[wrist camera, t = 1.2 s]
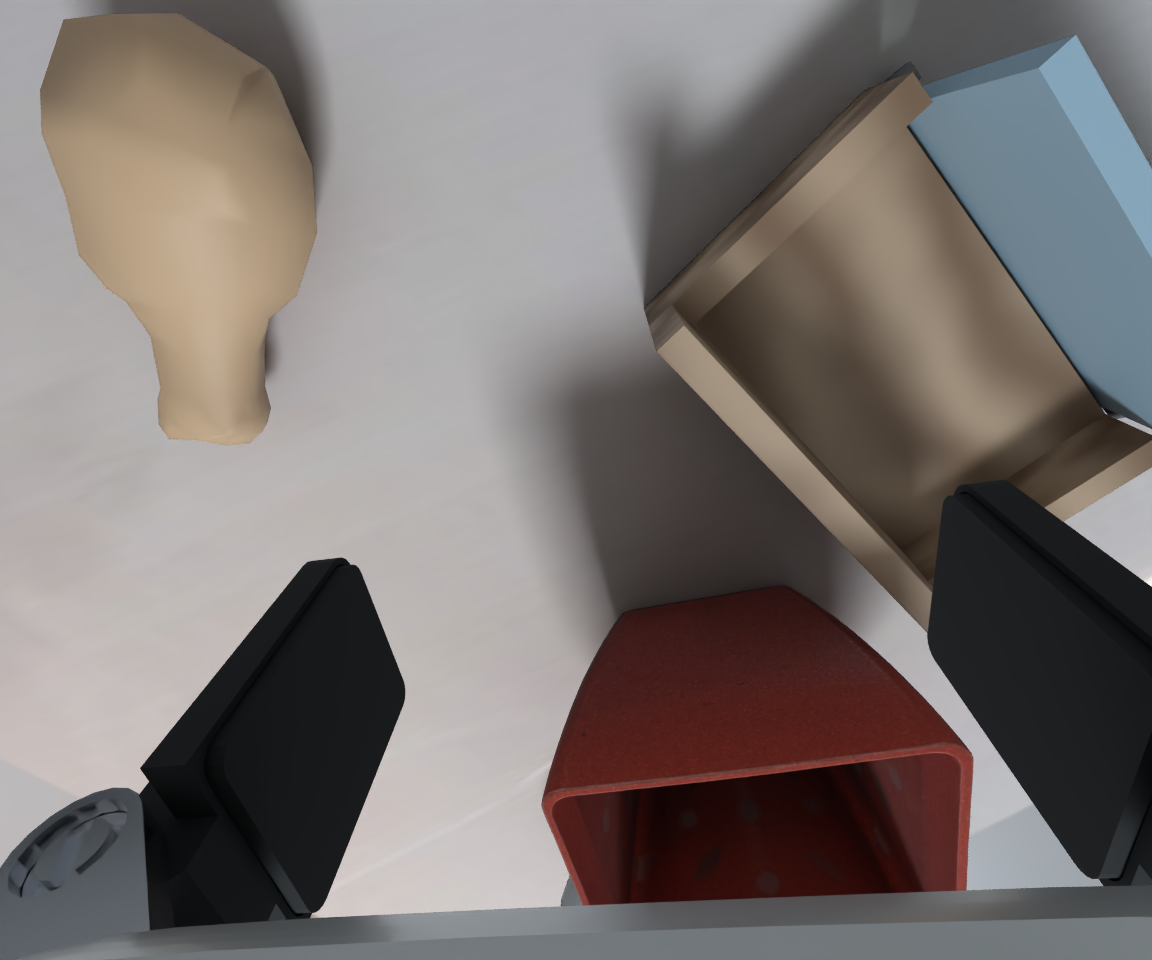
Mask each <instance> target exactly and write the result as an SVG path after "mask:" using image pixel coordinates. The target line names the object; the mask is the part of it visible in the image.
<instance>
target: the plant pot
mask: <svg viewBox="0 0 1152 960" xmlns="http://www.w3.org/2000/svg"><path fill="white" fill-rule="evenodd" d="M972 779H973V756H972V753H971V752H970V751H969V749H968V748H967V747H966V746H965V744H964V743H963V742H962V741H961V739H960V738H959V737H958V736H957V735H956V733H955V732H954V731H953V730H952V729H951V727H950V726H949V725H948V724H947V723H946V722H945V721H944V719H943V718H942V717H941V716H940V715H939V714H938V713H937V712H936V711H935V709H934V708H933V707H932V706H931V705H930V704H929V703H928V702H927V701H926V699H925V698H924V697H923V696H922V695H921V694H920V693H919V692H918V691H917V690H916V689H915V688H914V687H913V686H912V685H911V684H910V683H909V682H908V681H907V680H906V679H905V678H904V677H903V676H902V675H901V674H900V673H899V672H898V671H897V670H896V669H895V668H894V667H893V666H892V665H891V664H889V663H888V662H887V661H886V660H885V659H884V658H883V657H882V656H881V655H880V654H879V653H877V652H876V651H875V650H874V649H873V648H872V647H871V646H870V645H868V644H867V643H866V642H865V641H864V640H863V639H861V638H860V637H859V636H858V635H857V634H856V633H854V632H853V631H852V630H851V629H849V628H848V627H847V626H846V625H844V624H843V623H842V622H841V621H839V620H838V619H837V618H835V617H834V616H832V615H831V614H830V613H828V612H827V611H825V610H824V609H823V608H821V607H820V606H818V605H817V604H816V603H814V602H813V601H811V600H810V599H808V598H807V597H805V596H804V595H802V594H800V593H799V592H797V591H795V590H793V589H791V588H789V587H785V586H779V587H772V588H765V589H759V590H753V591H747V592H741V593H735V594H730V595H723V596H717V597H711V598H705V599H699V600H692V601H686V602H681V603H675V604H668V605H662V606H656V607H650V608H644V609H637V610H631V611H628V612H625V613H624V614H623V615H621V616H620V618H619V619H618V620H617V622H616V623H615V624H614V626H613V627H612V629H611V630H610V632H609V633H608V635H607V637H606V638H605V640H604V641H603V643H602V645H601V647H600V648H599V650H598V652H597V654H596V656H595V657H594V659H593V661H592V663H591V665H590V667H589V669H588V671H587V673H586V675H585V677H584V679H583V681H582V683H581V686H580V688H579V690H578V693H577V695H576V698H575V700H574V703H573V705H572V707H571V710H570V712H569V715H568V718H567V721H566V723H565V726H564V729H563V732H562V734H561V737H560V740H559V743H558V746H557V749H556V753H555V756H554V759H553V762H552V765H551V769H550V772H549V776H548V779H547V783H546V787H545V791H544V794H543V799H542V809H543V812H544V815H545V817H546V819H547V822H548V824H549V827H550V829H551V831H552V833H553V835H554V838H555V840H556V843H557V845H558V848H559V850H560V852H561V855H562V857H563V860H564V862H565V865H566V867H567V870H568V872H569V874H570V876H571V879H572V881H573V884H574V886H575V889H576V891H577V893H578V896H579V898H580V900H581V903H582V905H583V906H586V905H609V904H633V903H656V902H680V901H704V900H729V899H753V898H777V897H802V896H829V895H857V894H884V893H911V892H939V891H966V886H967V864H968V863H967V862H968V841H969V827H970V809H971V794H972Z"/></svg>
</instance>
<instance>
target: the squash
mask: <svg viewBox="0 0 1152 960" xmlns="http://www.w3.org/2000/svg"><path fill="white" fill-rule="evenodd" d="M40 99H41V128H42V136H43V138H44V141H45V144H46V146H47V149H48V151H49V154H50V157H51V159H52V162H53V165H54V167H55V170H56V173H57V175H58V178H59V181H60V183H61V186H62V189H63V191H64V194H65V197H66V201H67V205H68V209H69V214H70V218H71V222H72V227H73V231H74V235H75V240H76V244H77V248H78V253H79V256H80V257H81V258H82V260H83V261H84V262H85V263H86V264H87V266H88V267H89V268H90V269H91V270H92V272H93V273H94V274H95V275H96V276H97V278H98V279H99V280H100V281H101V282H102V284H103V285H104V286H105V287H106V288H107V289H108V290H110V291H111V292H112V293H114V294H115V295H117V296H118V297H120V298H121V299H122V300H124V301H125V302H126V303H127V304H128V305H129V307H130V308H131V310H132V311H133V313H134V314H135V315H136V317H137V318H138V320H139V321H140V322H141V324H142V325H143V327H144V328H145V330H146V331H147V332H148V334H149V335H150V337H151V342H152V347H153V352H154V357H155V362H156V368H157V373H158V378H159V383H160V392H159V396H158V419H159V425H160V427H161V428H162V430H163V431H164V433H165V434H166V435H167V437H168V438H169V439H177V440H196V441H202V442H209V443H215V444H221V445H237V444H248V443H251V442H252V441H253V440H254V439H255V438H256V437H257V436H258V435H259V434H260V433H261V432H262V431H263V429H264V428H265V426H266V424H267V422H268V418H269V414H270V410H271V407H270V403H269V399H268V396H267V392H266V388H265V336H266V332H267V327H268V322H269V319H270V318H271V317H272V316H273V315H274V314H275V313H277V312H278V311H279V310H280V309H281V308H283V307H284V306H285V305H286V304H287V303H289V302H290V301H291V300H292V299H293V298H294V297H296V296H297V293H298V290H299V287H300V284H301V281H302V278H303V275H304V272H305V269H306V265H307V262H308V259H309V256H310V253H311V250H312V247H313V244H314V241H315V237H316V234H317V224H316V210H315V197H314V183H313V170H312V164H311V162H310V159H309V157H308V155H307V152H306V150H305V147H304V145H303V143H302V140H301V138H300V136H299V133H298V131H297V128H296V126H295V124H294V121H293V119H292V117H291V114H290V112H289V109H288V107H287V105H286V102H285V100H284V98H283V95H282V93H281V90H280V88H279V86H278V83H277V81H276V79H275V77H274V75H273V74H272V73H271V72H270V70H269V69H268V68H267V67H266V66H264V65H263V64H261V63H259V62H258V61H256V60H254V59H253V58H251V57H249V56H248V55H246V54H245V53H243V52H241V51H240V50H238V49H236V48H235V47H233V46H231V45H230V44H228V43H227V42H225V41H223V40H222V39H220V38H218V37H217V36H215V35H213V34H212V33H210V32H208V31H207V30H205V29H204V28H202V27H200V26H199V25H197V24H195V23H194V22H192V21H190V20H189V19H187V18H186V17H184V16H182V15H181V14H179V13H139V14H107V15H98V16H90V17H82V18H73V19H65V20H63V23H62V26H61V29H60V32H59V35H58V38H57V41H56V44H55V47H54V50H53V53H52V56H51V59H50V62H49V65H48V68H47V71H46V74H45V77H44V80H43V83H42V86H41V89H40Z"/></svg>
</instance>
